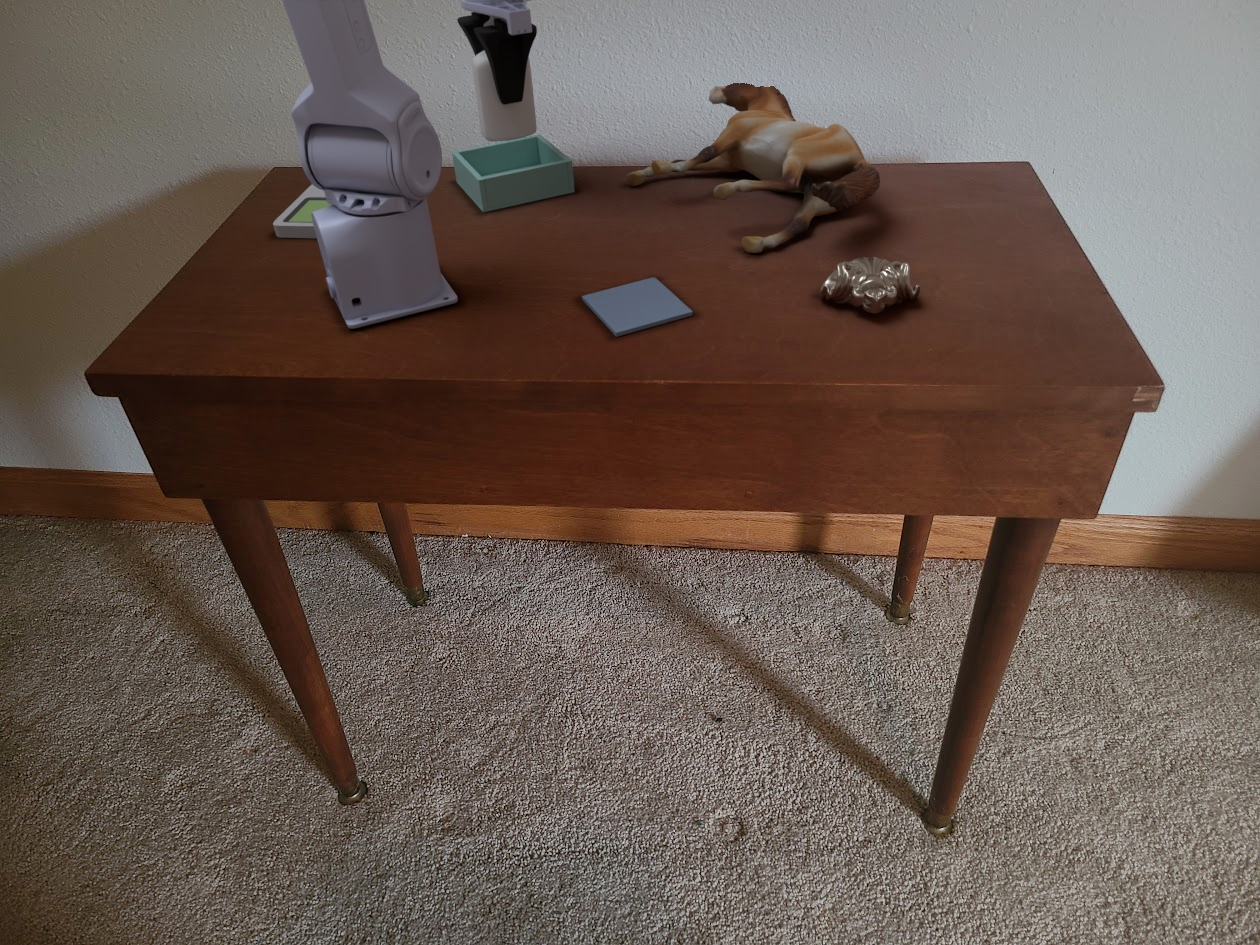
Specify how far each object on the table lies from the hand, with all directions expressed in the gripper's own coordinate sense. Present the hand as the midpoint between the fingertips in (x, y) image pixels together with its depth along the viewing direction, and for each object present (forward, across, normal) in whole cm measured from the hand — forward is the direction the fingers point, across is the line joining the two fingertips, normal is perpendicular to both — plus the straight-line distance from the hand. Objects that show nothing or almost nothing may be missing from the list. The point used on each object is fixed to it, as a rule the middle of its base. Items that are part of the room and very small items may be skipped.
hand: (505, 97), depth 91 cm
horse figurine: (+4, -17, -11) cm, 21 cm away
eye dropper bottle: (+4, 0, 0) cm, 4 cm away
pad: (+10, -29, 0) cm, 31 cm away
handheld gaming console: (+10, +5, +17) cm, 20 cm away
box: (+10, +1, 0) cm, 10 cm away
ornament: (+10, -38, -17) cm, 43 cm away
